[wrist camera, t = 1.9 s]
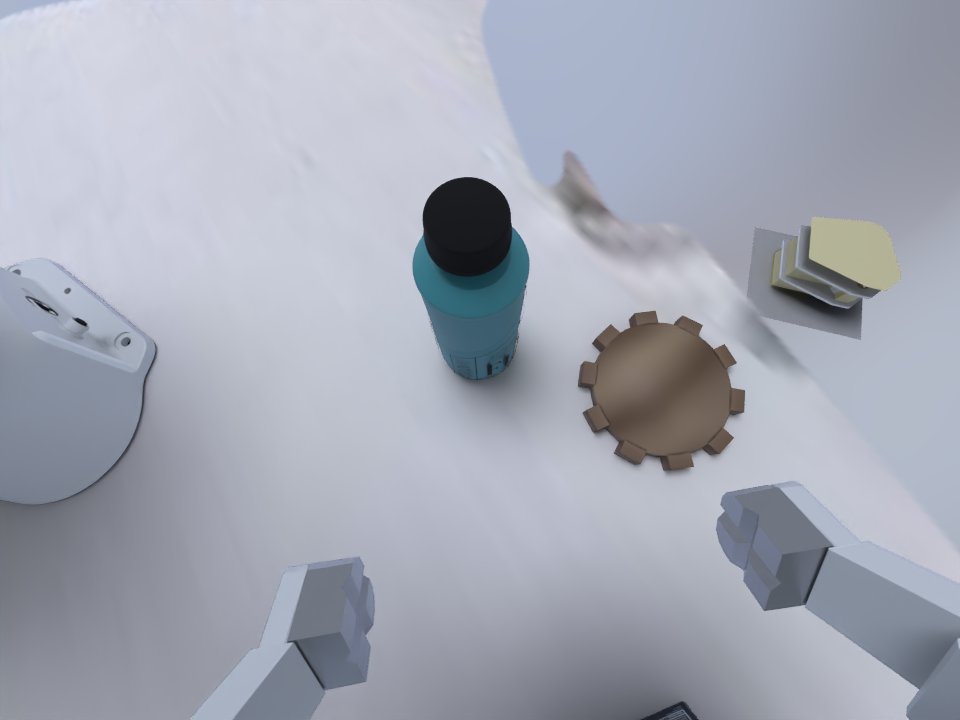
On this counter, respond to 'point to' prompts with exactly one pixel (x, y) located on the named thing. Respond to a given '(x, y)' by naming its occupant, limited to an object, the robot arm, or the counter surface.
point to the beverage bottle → (472, 275)
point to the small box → (674, 713)
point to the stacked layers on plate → (821, 273)
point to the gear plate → (661, 390)
